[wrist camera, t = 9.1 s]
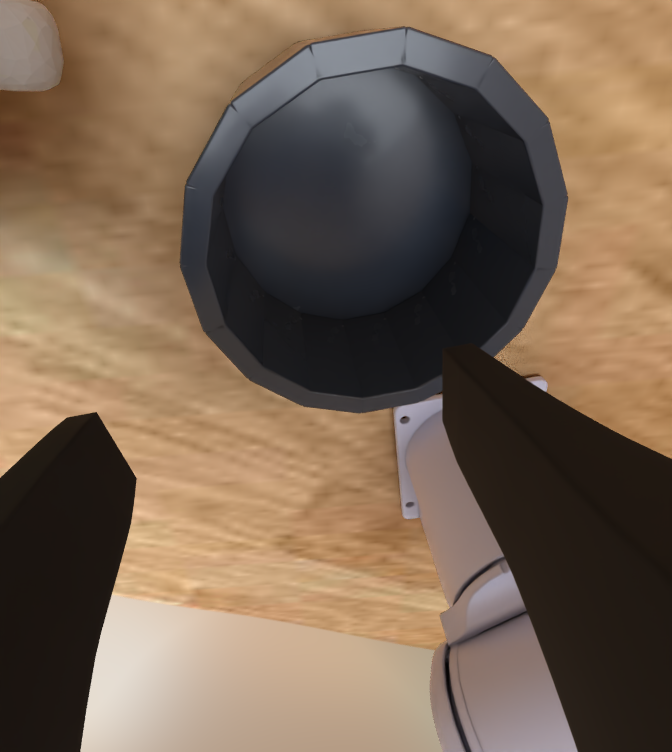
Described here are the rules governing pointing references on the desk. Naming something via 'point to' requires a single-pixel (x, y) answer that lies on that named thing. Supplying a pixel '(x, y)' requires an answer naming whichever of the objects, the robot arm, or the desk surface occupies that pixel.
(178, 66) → the desk surface
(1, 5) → the teacup
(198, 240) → the tin
